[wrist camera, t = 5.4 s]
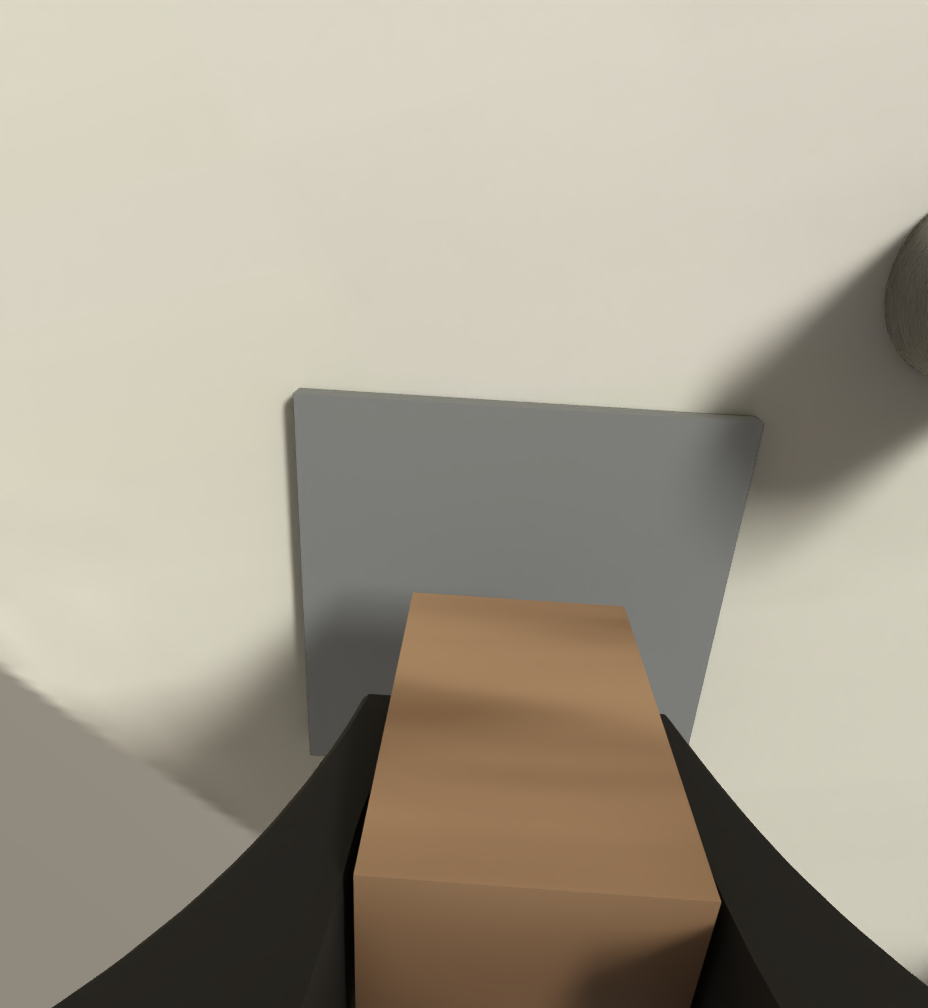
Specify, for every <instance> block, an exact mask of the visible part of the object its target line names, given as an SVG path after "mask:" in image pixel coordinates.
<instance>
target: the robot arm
mask: <svg viewBox="0 0 928 1008" xmlns="http://www.w3.org/2000/svg"><path fill="white" fill-rule="evenodd" d="M390 699H391V695H380V694H368V695H367V696H365V697H364V698H363V699H362V701H361V703H360V704H359V706H358V708H357V710H356V711H355V713H354V715H353V717H352V718H351V720H350V721H349V723H348V725H347V726H346V728H345V729H344V731H343V732H342V734H341V735H340V737H339V738H338V740H337V741H336V743H335V744H334V745H333V747H332V748H331V750H330V751H329V752H328V754H327V755H326V756H325V758H324V759H323V761H322V762H321V763H320V765H319V766H318V767H317V769H316V770H315V771H314V773H313V774H312V775H311V777H310V778H309V779H308V781H307V782H306V783H305V784H304V786H303V787H302V788H301V789H300V790H299V792H298V793H297V794H296V795H295V796H294V798H293V799H292V800H291V801H290V802H289V804H288V805H287V806H286V807H285V808H284V809H283V811H282V812H281V813H280V814H279V815H278V817H277V818H276V819H275V820H274V821H273V822H272V823H271V824H270V826H269V827H268V828H267V829H266V830H265V831H264V832H263V833H262V834H261V835H260V836H259V838H258V839H257V840H256V841H255V842H254V843H253V844H252V845H251V846H250V847H249V848H248V849H247V850H246V851H245V852H244V853H243V854H242V855H241V856H240V857H239V858H238V859H237V860H236V861H235V862H234V863H233V864H232V865H231V866H230V867H229V868H228V869H227V870H226V871H225V872H224V873H222V874H221V875H220V876H219V877H218V878H217V879H216V880H215V881H214V882H213V883H212V884H211V885H210V886H209V887H207V888H206V889H205V890H204V891H203V892H202V893H201V894H200V895H199V896H198V897H196V898H195V899H194V900H193V901H192V902H191V903H190V904H189V905H187V906H186V907H185V908H184V909H183V910H182V911H181V912H179V913H178V914H177V915H176V916H174V917H173V918H172V919H171V920H169V921H168V922H167V923H166V924H164V925H163V926H162V927H161V928H159V929H158V930H157V931H156V932H154V933H153V934H152V935H151V936H149V937H148V938H147V939H146V940H144V941H143V942H142V943H141V944H139V945H138V946H137V947H136V948H134V949H133V950H132V951H131V952H129V953H128V954H127V955H126V956H125V957H123V958H122V959H120V960H119V961H118V962H116V963H115V964H114V965H112V966H111V967H110V968H108V969H107V970H106V971H104V972H103V973H101V974H100V975H98V976H97V977H96V978H94V979H93V980H91V981H90V982H88V983H87V984H86V985H84V986H83V987H81V988H80V989H78V990H77V991H75V992H74V993H72V994H71V995H70V996H68V997H67V998H65V999H64V1000H63V1001H61V1002H60V1003H58V1004H57V1005H55V1006H54V1007H52V1008H356V1005H355V942H354V879H353V875H354V870H355V865H356V861H357V856H358V851H359V846H360V842H361V837H362V832H363V827H364V823H365V818H366V813H367V808H368V804H369V799H370V794H371V789H372V785H373V780H374V775H375V770H376V766H377V761H378V756H379V751H380V746H381V742H382V737H383V732H384V727H385V723H386V718H387V713H388V708H389V704H390ZM660 717H661V720H662V723H663V726H664V729H665V732H666V735H667V738H668V741H669V744H670V747H671V750H672V753H673V757H674V760H675V763H676V766H677V769H678V772H679V775H680V778H681V781H682V784H683V787H684V790H685V793H686V796H687V799H688V802H689V805H690V808H691V811H692V814H693V817H694V821H695V824H696V827H697V830H698V833H699V836H700V839H701V842H702V845H703V848H704V851H705V854H706V857H707V860H708V863H709V866H710V869H711V872H712V875H713V878H714V881H715V885H716V888H717V891H718V894H719V897H720V900H721V905H720V908H719V912H718V915H717V918H716V922H715V925H714V928H713V932H712V935H711V939H710V942H709V945H708V949H707V952H706V956H705V959H704V962H703V966H702V969H701V972H700V976H699V979H698V983H697V986H696V989H695V993H694V996H693V999H692V1003H691V1006H690V1008H928V986H927V985H925V984H924V983H923V982H922V981H920V980H919V979H918V978H917V977H915V976H914V975H913V974H911V973H910V972H909V971H908V970H906V969H905V968H904V967H903V966H902V965H900V964H899V963H898V962H897V961H896V960H894V959H893V958H892V957H891V956H890V955H888V954H887V953H886V952H885V951H884V950H883V949H881V948H880V947H879V946H878V945H877V944H875V943H874V942H873V941H872V940H871V939H869V938H868V937H867V936H866V935H865V934H863V933H862V932H861V931H860V930H859V929H858V928H857V927H856V926H854V925H853V924H852V923H851V922H850V921H849V920H848V919H847V918H845V917H844V916H843V915H842V914H841V913H840V912H839V911H838V910H837V909H836V908H835V907H834V906H832V905H831V904H830V903H829V902H828V901H827V900H826V899H825V898H824V897H823V896H822V895H821V894H820V893H819V892H818V891H817V890H816V889H815V888H814V887H812V886H811V885H810V884H809V883H808V882H807V881H806V880H805V879H804V878H803V877H802V876H801V875H800V874H799V873H798V872H797V871H796V870H795V869H794V868H793V867H792V866H791V865H790V864H789V863H788V862H787V861H786V860H785V859H784V858H783V857H782V855H781V854H780V853H779V852H778V851H777V850H776V849H775V848H774V847H773V846H772V845H771V844H770V842H769V841H768V840H767V839H766V838H765V837H764V836H763V835H762V834H761V833H760V831H759V830H758V829H757V828H756V827H755V826H754V825H753V823H752V822H751V821H750V820H749V819H748V818H747V817H746V815H745V814H744V813H743V812H742V811H741V809H740V808H739V807H738V806H737V805H736V803H735V802H734V801H733V800H732V799H731V797H730V796H729V795H728V794H727V793H726V791H725V790H724V789H723V788H722V787H721V785H720V784H719V783H718V782H717V780H716V779H715V778H714V777H713V775H712V774H711V773H710V772H709V770H708V769H707V768H706V767H705V765H704V764H703V763H702V761H701V760H700V759H699V758H698V756H697V755H696V754H695V752H694V751H693V750H692V748H691V747H690V746H689V744H688V743H687V742H686V741H685V739H684V738H683V737H682V735H681V734H680V733H679V731H678V730H677V729H676V727H675V726H674V725H673V723H672V722H671V721H670V720H669V718H668V717H667V716H666V715H665V714H660Z"/></svg>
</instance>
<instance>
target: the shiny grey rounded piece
mask: <svg viewBox="0 0 928 1008" xmlns="http://www.w3.org/2000/svg"><path fill="white" fill-rule="evenodd" d="M885 319H886V324H887V329H888V332H889V335H890V338H891V340H892V342H893V344H894V346H895V348H896V349H897V351H898V352H899V353H900V355H901V356H902V357H903V359H904V360H906V361H907V362H908V363H909V364H910V365H911V366H912V367H914V368H915V369H917V370H918V371H920V372H921V373H924V374H926V375H928V214H927V215H926V216H925V217H924V219H923V220H922V221H921V222H920V223H919V224H918V225H917V226H916V228H915V229H914V230H913V231H912V233H911V234H910V235H909V237H908V238H907V240H906V241H905V243H904V245H903V246H902V248H901V249H900V251H899V253H898V255H897V258H896V260H895V262H894V264H893V267H892V270H891V272H890V275H889V279H888V283H887V288H886V294H885Z"/></svg>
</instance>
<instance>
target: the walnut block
mask: <svg viewBox="0 0 928 1008" xmlns="http://www.w3.org/2000/svg"><path fill="white" fill-rule="evenodd" d="M353 879H354V942H355V1005H356V1008H690V1006H691V1003H692V999H693V996H694V993H695V989H696V986H697V983H698V979H699V976H700V972H701V969H702V966H703V962H704V959H705V956H706V952H707V949H708V945H709V942H710V939H711V935H712V932H713V928H714V925H715V922H716V918H717V915H718V912H719V908H720V905H721V900H720V897H719V894H718V891H717V888H716V885H715V881H714V878H713V875H712V872H711V869H710V866H709V863H708V860H707V857H706V854H705V851H704V848H703V845H702V842H701V839H700V836H699V833H698V830H697V827H696V824H695V821H694V817H693V814H692V811H691V808H690V805H689V802H688V799H687V796H686V793H685V790H684V787H683V784H682V781H681V778H680V775H679V772H678V769H677V766H676V763H675V760H674V757H673V753H672V750H671V747H670V744H669V741H668V738H667V735H666V732H665V729H664V726H663V723H662V720H661V717H660V714H659V711H658V708H657V705H656V702H655V699H654V696H653V692H652V689H651V686H650V683H649V680H648V677H647V674H646V671H645V668H644V665H643V662H642V659H641V656H640V653H639V650H638V647H637V644H636V641H635V638H634V635H633V632H632V628H631V625H630V622H629V619H628V616H627V613H626V610H625V607H624V606H610V605H595V604H580V603H565V602H550V601H535V600H520V599H505V598H490V597H475V596H460V595H445V594H430V593H415V592H413V594H412V599H411V604H410V608H409V613H408V618H407V623H406V627H405V632H404V637H403V642H402V647H401V651H400V656H399V661H398V666H397V670H396V675H395V680H394V685H393V689H392V694H391V699H390V704H389V708H388V713H387V718H386V723H385V727H384V732H383V737H382V742H381V746H380V751H379V756H378V761H377V766H376V770H375V775H374V780H373V785H372V789H371V794H370V799H369V804H368V808H367V813H366V818H365V823H364V827H363V832H362V837H361V842H360V846H359V851H358V856H357V861H356V865H355V870H354V875H353Z"/></svg>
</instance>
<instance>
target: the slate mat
mask: <svg viewBox="0 0 928 1008" xmlns="http://www.w3.org/2000/svg"><path fill="white" fill-rule="evenodd" d="M293 401H294V422H295V443H296V465H297V486H298V507H299V528H300V549H301V571H302V592H303V613H304V634H305V656H306V677H307V698H308V719H309V741H310V755H318V756H326V755H327V754H328V752H329V751H330V750H331V748H332V747H333V745H334V744H335V743H336V741H337V740H338V738H339V737H340V735H341V734H342V732H343V731H344V729H345V728H346V726H347V725H348V723H349V721H350V720H351V718H352V717H353V715H354V713H355V711H356V710H357V708H358V706H359V704H360V703H361V701H362V699H363V698H364V697H365V696H367V695H368V694H380V695H391V694H392V689H393V685H394V680H395V675H396V670H397V666H398V661H399V656H400V651H401V647H402V642H403V637H404V632H405V627H406V623H407V618H408V613H409V608H410V604H411V599H412V594H413V592H415V593H430V594H445V595H460V596H475V597H490V598H505V599H520V600H535V601H550V602H565V603H580V604H595V605H610V606H624V607H625V610H626V613H627V616H628V619H629V622H630V625H631V628H632V632H633V635H634V638H635V641H636V644H637V647H638V650H639V653H640V656H641V659H642V662H643V665H644V668H645V671H646V674H647V677H648V680H649V683H650V686H651V689H652V692H653V696H654V699H655V702H656V705H657V708H658V711H659V714H665V715H666V716H667V717H668V718H669V720H670V721H671V722H672V723H673V725H674V726H675V727H676V729H677V730H678V731H679V733H680V734H681V735H682V737H683V738H684V739H685V741H686V742H687V743H688V744H689V741H690V737H691V732H692V728H693V724H694V720H695V715H696V711H697V707H698V703H699V698H700V694H701V690H702V686H703V681H704V677H705V673H706V669H707V664H708V660H709V656H710V652H711V647H712V643H713V639H714V635H715V630H716V626H717V622H718V618H719V613H720V609H721V605H722V601H723V596H724V592H725V588H726V584H727V579H728V575H729V571H730V567H731V562H732V558H733V554H734V550H735V546H736V541H737V537H738V533H739V529H740V524H741V520H742V516H743V512H744V507H745V503H746V499H747V495H748V490H749V486H750V482H751V478H752V473H753V469H754V465H755V461H756V456H757V452H758V448H759V444H760V439H761V435H762V431H763V427H764V422H762V421H761V420H760V419H759V418H757V417H755V416H739V415H723V414H707V413H691V412H675V411H659V410H643V409H627V408H611V407H595V406H579V405H563V404H547V403H531V402H515V401H499V400H483V399H467V398H451V397H435V396H419V395H403V394H387V393H371V392H355V391H339V390H323V389H307V388H299V389H298V390H297V391H295V392H294V393H293Z"/></svg>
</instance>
